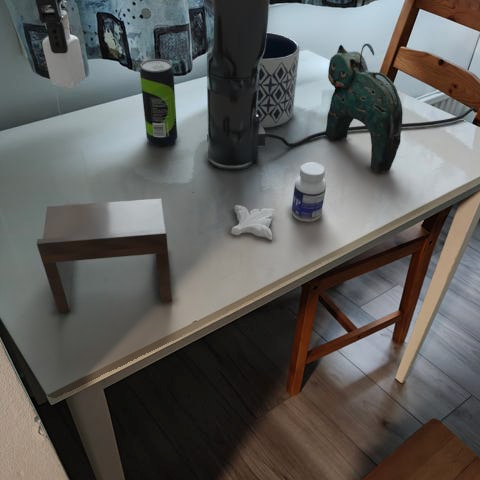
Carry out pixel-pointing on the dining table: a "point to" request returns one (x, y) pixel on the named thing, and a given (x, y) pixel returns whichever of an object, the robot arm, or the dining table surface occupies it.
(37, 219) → the dining table surface
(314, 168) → the pill bottle
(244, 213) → the acanthus leaf ornament
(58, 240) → the wooden table
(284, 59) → the planter
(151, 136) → the beverage can
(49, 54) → the salt shaker
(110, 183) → the dining table surface
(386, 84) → the ceramic cat
